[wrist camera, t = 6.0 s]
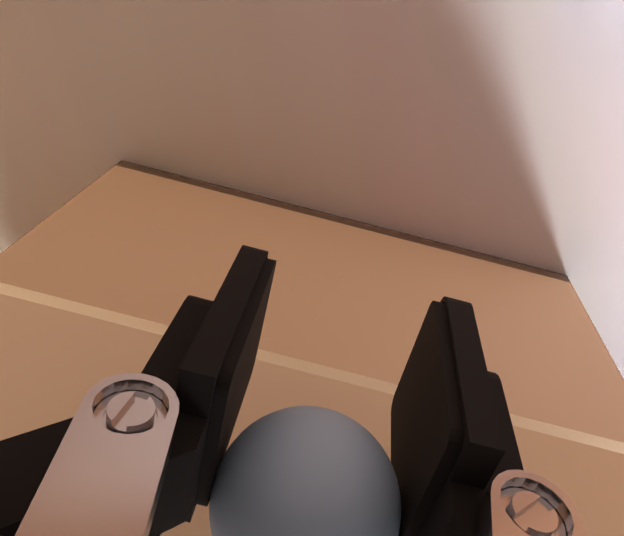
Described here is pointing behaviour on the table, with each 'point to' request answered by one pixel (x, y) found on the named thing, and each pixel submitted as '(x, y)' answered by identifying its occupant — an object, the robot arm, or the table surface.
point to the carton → (320, 292)
